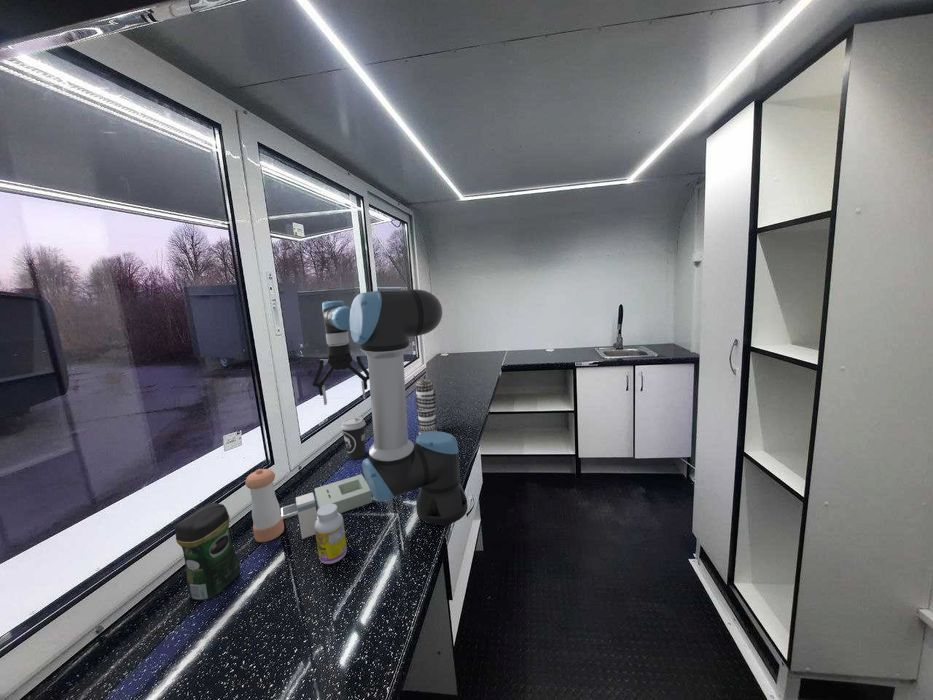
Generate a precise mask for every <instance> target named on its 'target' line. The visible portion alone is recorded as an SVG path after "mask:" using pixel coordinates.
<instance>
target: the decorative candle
mask: <svg viewBox="0 0 933 700" xmlns="http://www.w3.org/2000/svg"><path fill="white" fill-rule="evenodd" d="M433 384H434V382H433V381H431V379H429V378H423V379H418V380H417V381H416V383H415V384H414V385H415V388H416V390H415V391H416V393H415V395H414V397H415V399H414V400H415V402H416V403H415V406H416V411H417V412H418V415H417V416H418V419H417V425H418V427H417V428H418V435H419V434H421V433H424V432H430V431H438V424H437V423H438V422H437V416H436V411H435V409H436V405H435V404H436V397H435V396H436V392H435V389H434V385H433Z"/></svg>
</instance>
